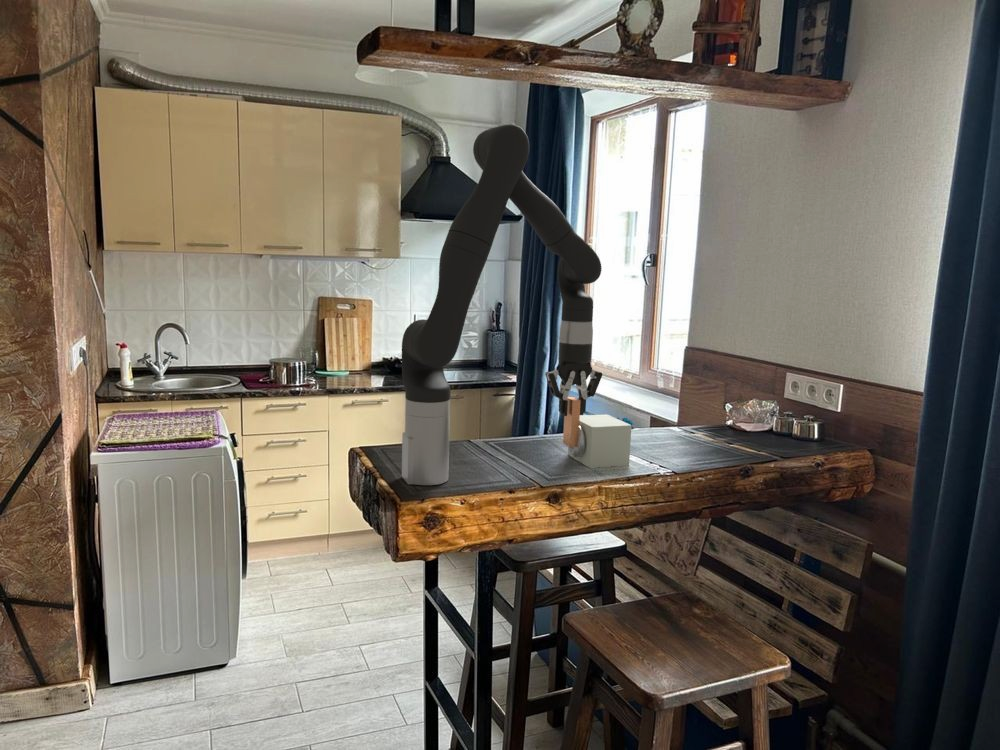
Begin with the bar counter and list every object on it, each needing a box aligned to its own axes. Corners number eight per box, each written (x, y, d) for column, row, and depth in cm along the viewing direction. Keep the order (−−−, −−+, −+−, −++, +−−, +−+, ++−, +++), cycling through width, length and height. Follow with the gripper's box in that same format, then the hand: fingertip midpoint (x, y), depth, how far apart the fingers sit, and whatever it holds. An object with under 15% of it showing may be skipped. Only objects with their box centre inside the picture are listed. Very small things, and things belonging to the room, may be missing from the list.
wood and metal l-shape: (572, 461, 168) (576, 401, 166) (559, 452, 175) (562, 395, 173) (609, 458, 171) (612, 400, 169) (594, 450, 178) (597, 394, 176)
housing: (590, 468, 168) (592, 427, 166) (567, 454, 179) (569, 415, 177) (629, 465, 171) (631, 425, 169) (604, 452, 182) (607, 414, 181)
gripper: (553, 342, 162) (550, 419, 165) (611, 342, 167) (607, 417, 169) (540, 339, 169) (537, 412, 172) (596, 338, 174) (592, 410, 176)
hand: (572, 414), depth 171 cm, fingers open, 3 cm apart
